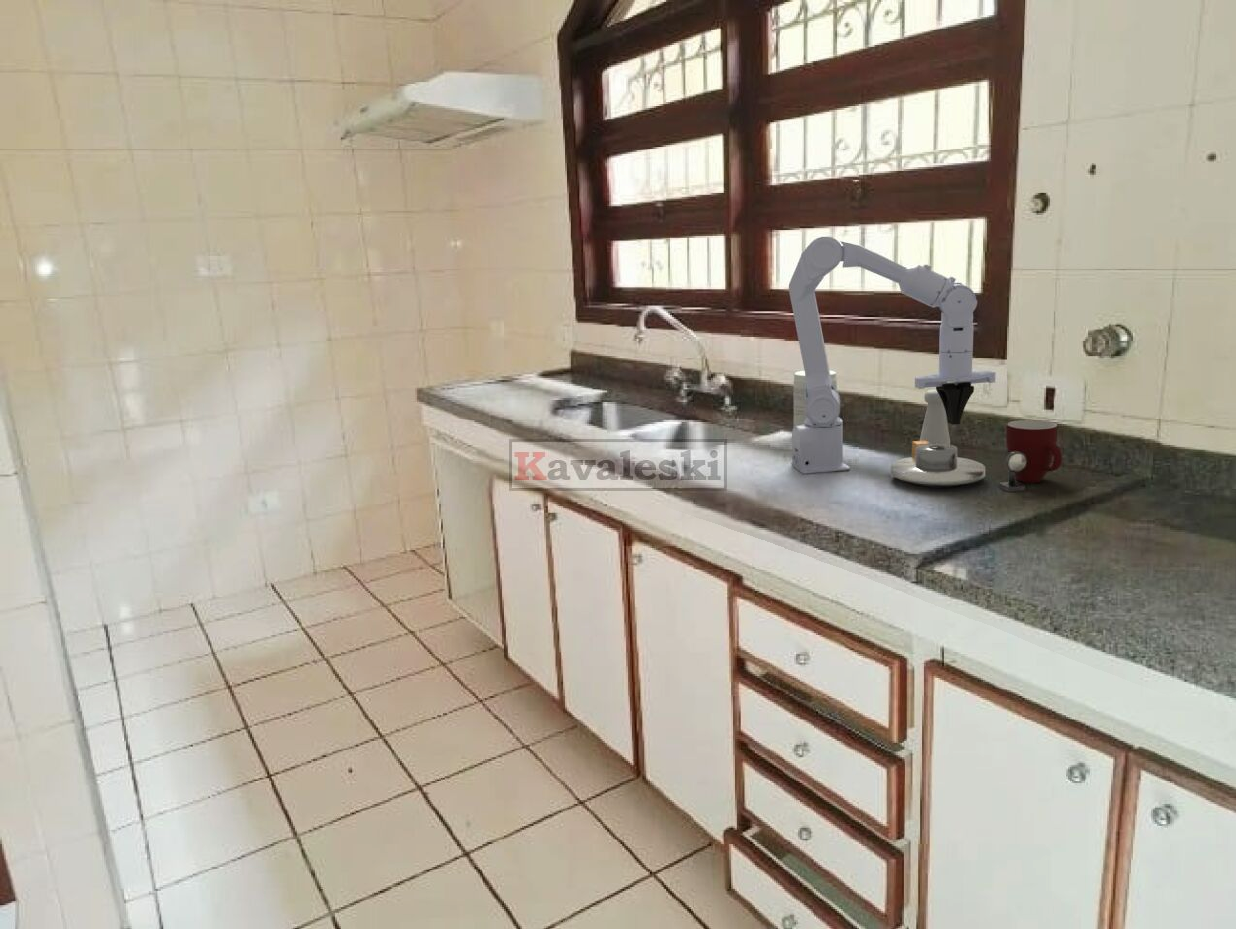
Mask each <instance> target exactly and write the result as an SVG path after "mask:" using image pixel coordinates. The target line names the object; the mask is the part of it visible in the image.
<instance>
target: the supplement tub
mask: <svg viewBox="0 0 1236 929" xmlns="http://www.w3.org/2000/svg"><path fill="white" fill-rule="evenodd" d="M829 371H830V375H831V379H832V384H833V386H834V388H835V389H836V391H837V392H838V387H837V386H838V385H837V384H838V383H837V379H838V378H837V372H836V371H834V370H829ZM793 375H794V376H793V428H794V427H795V426H800V425H803V424H805V419H807V418H808V417H807V414H806V405H807V402H808V393H807V385H806V376H805V371H804V370H800V371H796V372H795V373H794V374H793Z"/></svg>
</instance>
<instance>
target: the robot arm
mask: <svg viewBox="0 0 1236 929" xmlns="http://www.w3.org/2000/svg"><path fill="white" fill-rule="evenodd" d="M840 262H842V269H843V268H856V267H858V268H861V269H863V270H864V269H865V270H866V271H868V272H871V273H873V274H876V275H878V276H880V277H882V278H886V279H888V280H889V281H892V282H895V283H897V284H898V286H899V290H900V292H901V294H902V295H905V296H907V297H909V298H911V299H913V300H916V301H917V302H920V303H922V304H925V305H926V306H929V307H931V308H939V310H941V318H940V320H941V322H940V326H939V340H938V341H939V345H938V346H939V347H938V373H936V374H931V375H930V374H929V375H924V376H916V377H914V388H916V389H919V390H921V389H922V390H923V389H926V388H935V389H936V390H937V392H938V394H939V396H940V398H941V400H942V402H943V405H944V408H945V412H946V418H947V424H950V425H952V426H953V425H960V424H961V420H962V417H963V414H964V410H965V408H966V405H967V403H968V402H969V400H970V398H971V396H972V395H973V394H974V390H975V387H974V385H973V384H983V383H987V384H988V383H990V384H992V383H996V373H997V372H996V371H992V370H984V371H983V370H982V371H973V354H974V352H973V350H974V324H973V321H974V311H975V310H976V308H977V306H978V300H977V296H976V294H975V292H974V291H973V289H972V288H971V287H968V286H967V285H964V284H963V283H962V282H956V281H957V279H956V277H953V276H950V277H949V278H948V277H947V276H945V275H942V274H940V273H938V272H936V271H934V270H931V269H932V266H930V265H929V264H926V263H924V264H923V265H920V264H918V263H917V264H914V265H910V266H909V267H906V266H903V265H901V264H899V263H897V262H896V261H894V260H891V259H889V258H887V257H886V256H883V255H881V254H878V253H877V252H875V251H873V250H871V249H868V248H867V247H864V246H863V245H861V244H856V243H853V242H849V241H845V240H840V241H839V240H838V239H836V237H832V236H829V235H827V236H819V237H817V238H815V239H813V240H812V241H811V243H809V244H808V246H807V247H805V249H804V251H802V253H801V254H800V257H799V260H798V262H797V265H796V267H795V269H794V272H793V274H792V276H791V279H790V281H789V284H788V293H789V298H790V303H791V307H792V313H793V318H794V323H795V328H796V333H797V339H798V344H799V349H800V354H801V360H802V365H803V371H805V376H806V385H807V393H808V402H807V405H806V414H807V417H808V418H807V419H805V424H803V425H800V426H795V427H794V426H793V428H792V430H791V454H792V455H791V460H792V461H791V463H790V464H791V466H793V467H794V468H795V469H797V470H798V472H800V473H801V474H804V475H806V474H814V473H815V474H818V473H827V472H839V471H849V470H851V467H850V466H849V465H847V464H846V463H845V462H843V461H844V458H843V457H844V456H843V454H844V453H843V452H844V451H843V449H844V447H843V444H844V443H843V442H844V440H843V438H844V436H843V435H844V434H843V422H844V421H843V419H842V418H840V412H841V401H842V400H841V395H840V393H839V392H838V390H837V391H836V389H835V388H834V386H833V384H832V379H831V375H830V371H831V370H830V367H829V362H828V356H827V352H826V351H827V350H826V346H825V341H824V335H823V331H822V329H823V328H822V324H821V318H820V314H819V308H818V304H817V303H818V302H817V297H816V293H815V290H816V289H817V287H818V286H819V285H820V283H821V282H822V281H823V279H824V277H825V276H826V275H828V274H829V273H831V272H832V271H833V270H834V269H835V268H837V267H838V265H839V264H840Z"/></svg>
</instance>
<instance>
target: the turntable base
mask: <svg viewBox="0 0 1236 929" xmlns="http://www.w3.org/2000/svg"><path fill="white" fill-rule="evenodd" d="M912 484H913V485H916V486H921V487H925V488H937V489H938V488H941V489H944V488H955V487H959V486H963V485H964V484H959V485H926V484H917V483H912Z"/></svg>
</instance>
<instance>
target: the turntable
mask: <svg viewBox="0 0 1236 929" xmlns="http://www.w3.org/2000/svg"><path fill="white" fill-rule="evenodd" d="M922 444H930V443H929V442H927V441H920V440H916V441H915V440H913V441H912V442H911V457H905V458H901V459H898V460H895V461H893V462H892V463H891V464H890V475H891V476H892V477H893V478H895V479H896V480H897V479H899V480H900V481H903V482H908V483H911V484H913V483H917V484H926V485H959V484H963V485H965V484H971V483H975V482H978V481H981V480H982V479H984V478H985V477H986V466H985V465H984V464H983V463H981V462H979V461H977V460H974V459H969V458H964V457H958V456H957V468H956V469H954V470H951V471H944V472H932V471H924V470H920V469H918V468H916V447H917V446H918V445H922Z"/></svg>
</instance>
